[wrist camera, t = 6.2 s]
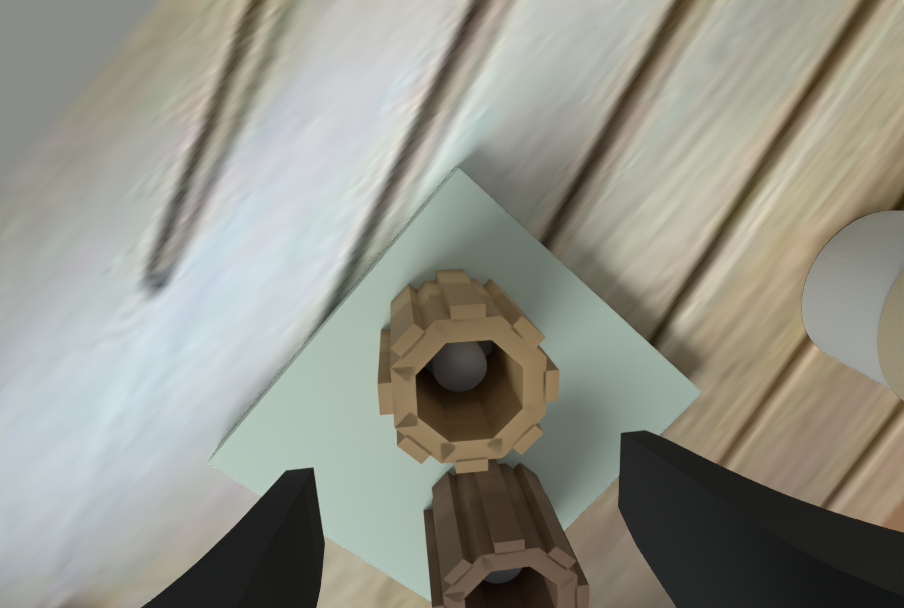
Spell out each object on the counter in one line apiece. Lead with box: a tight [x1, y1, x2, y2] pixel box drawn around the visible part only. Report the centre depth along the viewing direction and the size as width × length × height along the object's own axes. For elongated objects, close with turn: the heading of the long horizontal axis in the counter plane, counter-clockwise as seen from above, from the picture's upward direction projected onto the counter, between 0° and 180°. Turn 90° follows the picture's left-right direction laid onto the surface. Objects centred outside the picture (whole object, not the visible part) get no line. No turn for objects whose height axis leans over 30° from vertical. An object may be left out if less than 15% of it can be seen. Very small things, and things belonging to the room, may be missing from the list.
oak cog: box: [377, 269, 559, 474], centre depth 18 cm, size 5×5×5 cm
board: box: [208, 167, 702, 602], centre depth 20 cm, size 14×15×4 cm
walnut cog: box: [423, 459, 589, 608], centre depth 20 cm, size 5×5×5 cm
